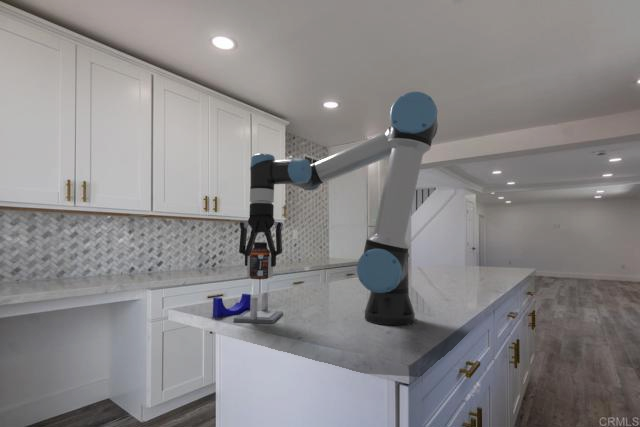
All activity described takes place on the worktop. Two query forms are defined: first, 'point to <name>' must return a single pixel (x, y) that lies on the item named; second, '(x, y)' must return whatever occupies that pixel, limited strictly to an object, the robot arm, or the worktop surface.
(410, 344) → the worktop surface
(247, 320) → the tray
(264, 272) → the supplement bottle
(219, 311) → the cable clip
